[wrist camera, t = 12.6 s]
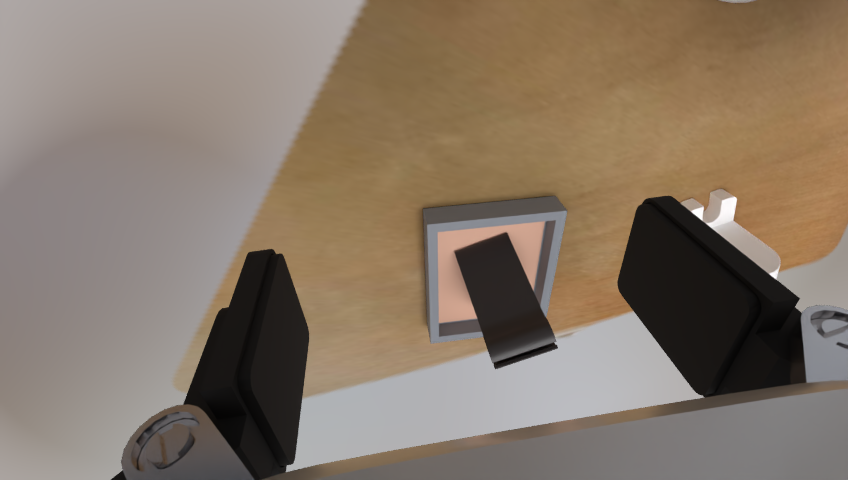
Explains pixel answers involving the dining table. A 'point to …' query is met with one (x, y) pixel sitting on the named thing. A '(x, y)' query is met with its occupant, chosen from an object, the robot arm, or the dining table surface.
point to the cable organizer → (734, 229)
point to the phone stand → (504, 302)
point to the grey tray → (474, 223)
